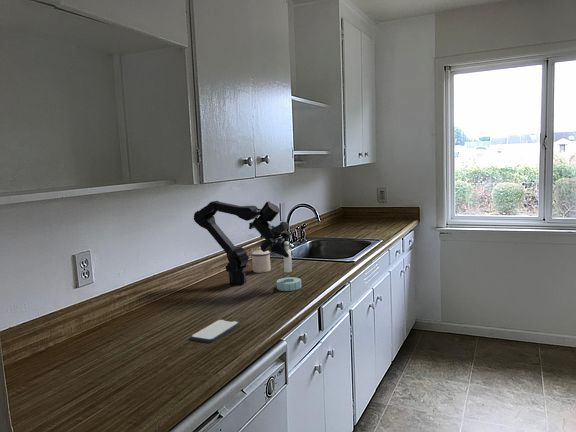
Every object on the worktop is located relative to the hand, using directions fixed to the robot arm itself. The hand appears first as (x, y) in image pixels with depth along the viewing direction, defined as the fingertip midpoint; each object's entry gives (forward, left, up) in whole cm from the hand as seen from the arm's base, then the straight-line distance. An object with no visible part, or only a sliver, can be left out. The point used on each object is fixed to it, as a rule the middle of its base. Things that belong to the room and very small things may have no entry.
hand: (290, 255), depth 197 cm
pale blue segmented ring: (-1, 0, -14) cm, 14 cm away
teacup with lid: (-23, +29, -14) cm, 40 cm away
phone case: (-13, -51, -14) cm, 55 cm away
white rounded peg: (-1, 0, -7) cm, 7 cm away
